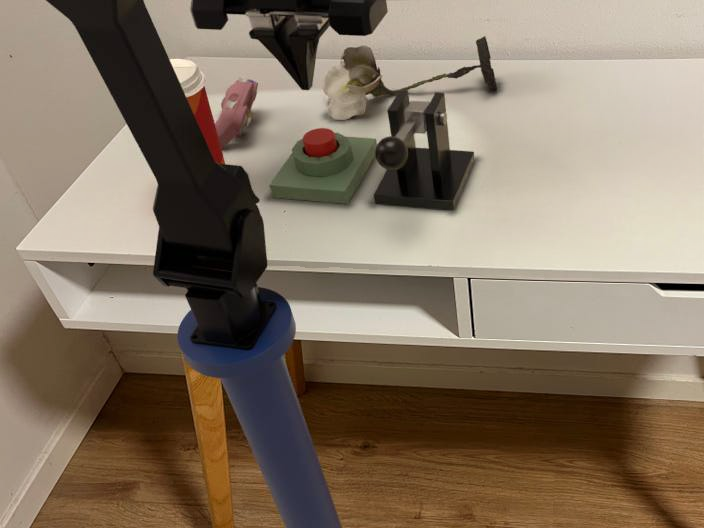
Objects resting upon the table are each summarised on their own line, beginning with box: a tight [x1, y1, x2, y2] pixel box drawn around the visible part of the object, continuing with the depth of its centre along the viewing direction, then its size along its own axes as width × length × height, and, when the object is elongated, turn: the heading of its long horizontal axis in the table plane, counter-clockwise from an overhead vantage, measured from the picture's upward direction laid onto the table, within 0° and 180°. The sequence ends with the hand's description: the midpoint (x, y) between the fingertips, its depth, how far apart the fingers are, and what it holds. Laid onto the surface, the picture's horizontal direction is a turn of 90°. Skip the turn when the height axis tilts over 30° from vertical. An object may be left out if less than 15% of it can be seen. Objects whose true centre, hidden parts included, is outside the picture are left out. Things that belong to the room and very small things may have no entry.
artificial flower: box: [322, 35, 498, 121], centre depth 100 cm, size 9×22×10 cm, turn 96°
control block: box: [269, 132, 378, 205], centre depth 90 cm, size 11×9×4 cm
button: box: [302, 127, 337, 157], centre depth 89 cm, size 4×4×2 cm
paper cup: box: [169, 58, 226, 164], centre depth 86 cm, size 8×8×14 cm
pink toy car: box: [214, 76, 259, 148], centre depth 98 cm, size 10×5×7 cm, turn 179°
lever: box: [375, 100, 431, 171], centre depth 80 cm, size 12×3×3 cm, turn 167°
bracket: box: [373, 89, 475, 211], centre depth 86 cm, size 10×9×10 cm
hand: (307, 88), depth 84 cm, fingers closed
